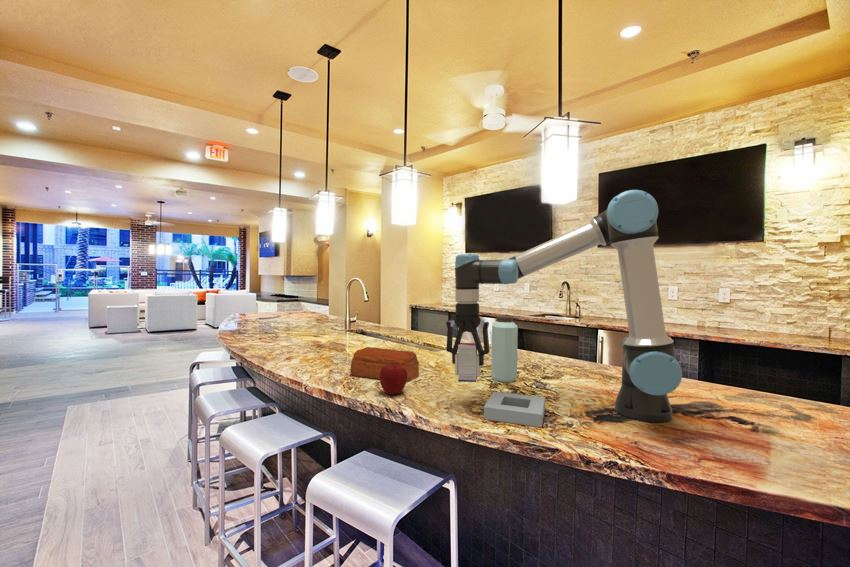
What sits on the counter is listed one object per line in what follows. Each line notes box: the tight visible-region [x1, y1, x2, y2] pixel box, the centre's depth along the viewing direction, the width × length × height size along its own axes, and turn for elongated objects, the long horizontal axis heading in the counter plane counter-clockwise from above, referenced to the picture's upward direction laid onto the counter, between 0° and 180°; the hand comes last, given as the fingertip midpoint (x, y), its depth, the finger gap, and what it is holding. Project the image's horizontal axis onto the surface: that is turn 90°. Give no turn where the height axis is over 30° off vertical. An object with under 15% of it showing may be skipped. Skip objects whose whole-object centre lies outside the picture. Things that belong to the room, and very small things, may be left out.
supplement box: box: [457, 342, 478, 383], centre depth 123 cm, size 6×6×12 cm
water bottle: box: [490, 315, 519, 383], centre depth 153 cm, size 10×10×25 cm
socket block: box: [483, 391, 546, 428], centre depth 115 cm, size 16×16×4 cm
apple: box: [379, 364, 407, 396], centre depth 133 cm, size 10×10×10 cm
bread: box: [350, 346, 420, 383], centre depth 157 cm, size 16×27×11 cm, turn 66°
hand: (467, 374), depth 123 cm, fingers closed on supplement box, 6 cm apart
